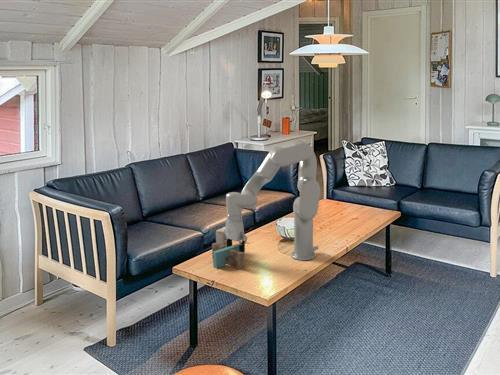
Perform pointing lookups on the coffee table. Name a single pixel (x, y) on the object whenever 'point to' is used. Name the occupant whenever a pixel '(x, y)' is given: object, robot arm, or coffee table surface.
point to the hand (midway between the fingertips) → (235, 249)
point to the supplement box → (221, 237)
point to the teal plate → (223, 255)
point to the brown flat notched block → (231, 256)
